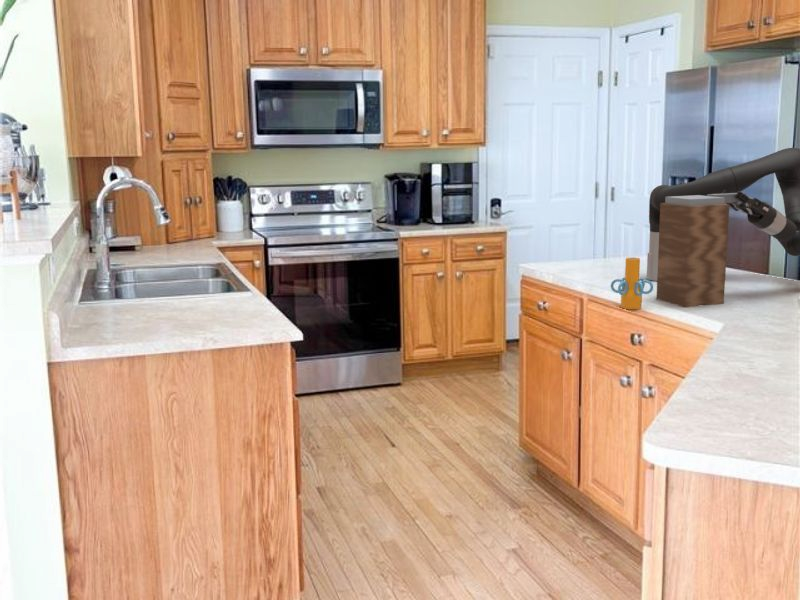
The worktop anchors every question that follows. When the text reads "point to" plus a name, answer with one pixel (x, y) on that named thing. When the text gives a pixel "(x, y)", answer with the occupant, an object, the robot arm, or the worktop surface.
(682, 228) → the post
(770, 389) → the worktop surface
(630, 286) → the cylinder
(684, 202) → the lid
